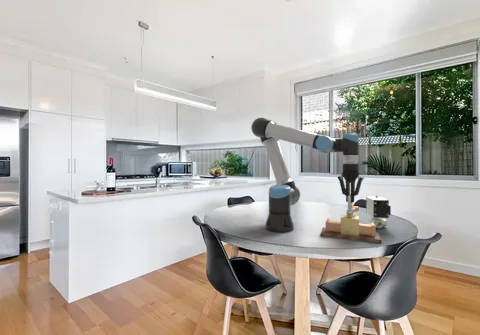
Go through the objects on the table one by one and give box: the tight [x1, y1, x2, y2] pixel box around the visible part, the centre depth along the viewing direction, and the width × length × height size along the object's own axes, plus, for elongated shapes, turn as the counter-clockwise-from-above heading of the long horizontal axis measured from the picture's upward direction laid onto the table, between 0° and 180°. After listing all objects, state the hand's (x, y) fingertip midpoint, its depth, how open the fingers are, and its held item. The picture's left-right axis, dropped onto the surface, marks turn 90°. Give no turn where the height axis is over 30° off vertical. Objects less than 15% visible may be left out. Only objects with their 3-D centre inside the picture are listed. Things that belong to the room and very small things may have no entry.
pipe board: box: [320, 227, 383, 244], centre depth 120 cm, size 26×12×2 cm, turn 67°
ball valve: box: [365, 194, 392, 229], centre depth 138 cm, size 18×8×18 cm, turn 168°
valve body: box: [325, 214, 377, 237], centre depth 120 cm, size 22×8×10 cm, turn 67°
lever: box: [345, 205, 360, 216], centre depth 125 cm, size 14×3×2 cm, turn 141°
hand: (350, 208), depth 128 cm, fingers closed
